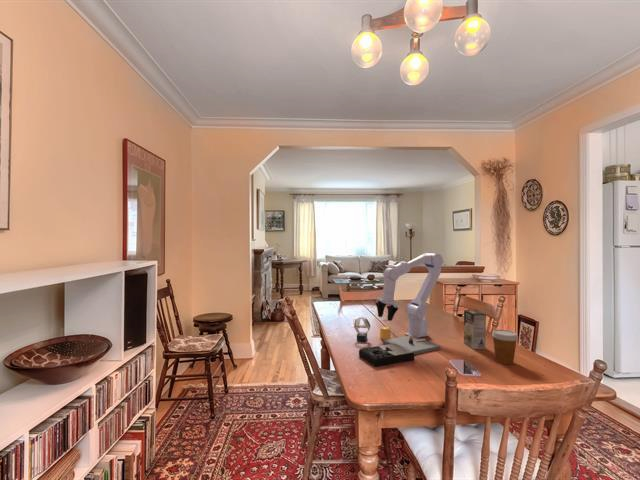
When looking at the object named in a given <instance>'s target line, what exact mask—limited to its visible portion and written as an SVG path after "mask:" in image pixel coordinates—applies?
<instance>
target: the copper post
mask: <svg viewBox="0 0 640 480" xmlns="http://www.w3.org/2000/svg"><path fill="white" fill-rule="evenodd" d="M409 343H410V344H413V335H409Z"/></svg>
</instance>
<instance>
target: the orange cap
mask: <svg viewBox="0 0 640 480" xmlns="http://www.w3.org/2000/svg"><path fill="white" fill-rule="evenodd" d="M379 332H380V333H379V334H380V335H379V336H380V337H379V338H380V340H382V341H383V340H388V339H392V338H391V337H392V329H391V327H388V326H382V327H380V330H379Z"/></svg>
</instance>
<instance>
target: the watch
mask: <svg viewBox="0 0 640 480" xmlns="http://www.w3.org/2000/svg"><path fill="white" fill-rule="evenodd" d="M355 319H356V321H357V320H358V319H360V320H362V321H363V324H365V327H366V328H367V331H360V329H359V328H357V327H358V326H357V325H356V321H355V320H354V322H353V324H354V325H353V328H354V330H355V331H356V342H358V343H359V342H360V343H361V342H362V343H366V342H367V339H368V333H369V331H370V329H371V324H370V323H371V322H370V321H369V319H368V318H365V317H361V316H360V317H357V318H355Z"/></svg>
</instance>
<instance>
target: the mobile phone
mask: <svg viewBox="0 0 640 480" xmlns="http://www.w3.org/2000/svg"><path fill="white" fill-rule="evenodd" d="M448 362H449V363H450V364H451V365H452V366H453V367H454V369H455V370H456V369H457V370H458V371H457V370H456V371H457V372H458V373H459V374H460V375H461V376H464V377H465V376H466V377H467V376H469V377H473V376H474V377H481V376H482V373H481V372H480V371H479V370H478V369H477V368H476V367H475V366H474V365H473V364H472V363H470V361H469V360H467V359H449V361H448Z"/></svg>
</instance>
